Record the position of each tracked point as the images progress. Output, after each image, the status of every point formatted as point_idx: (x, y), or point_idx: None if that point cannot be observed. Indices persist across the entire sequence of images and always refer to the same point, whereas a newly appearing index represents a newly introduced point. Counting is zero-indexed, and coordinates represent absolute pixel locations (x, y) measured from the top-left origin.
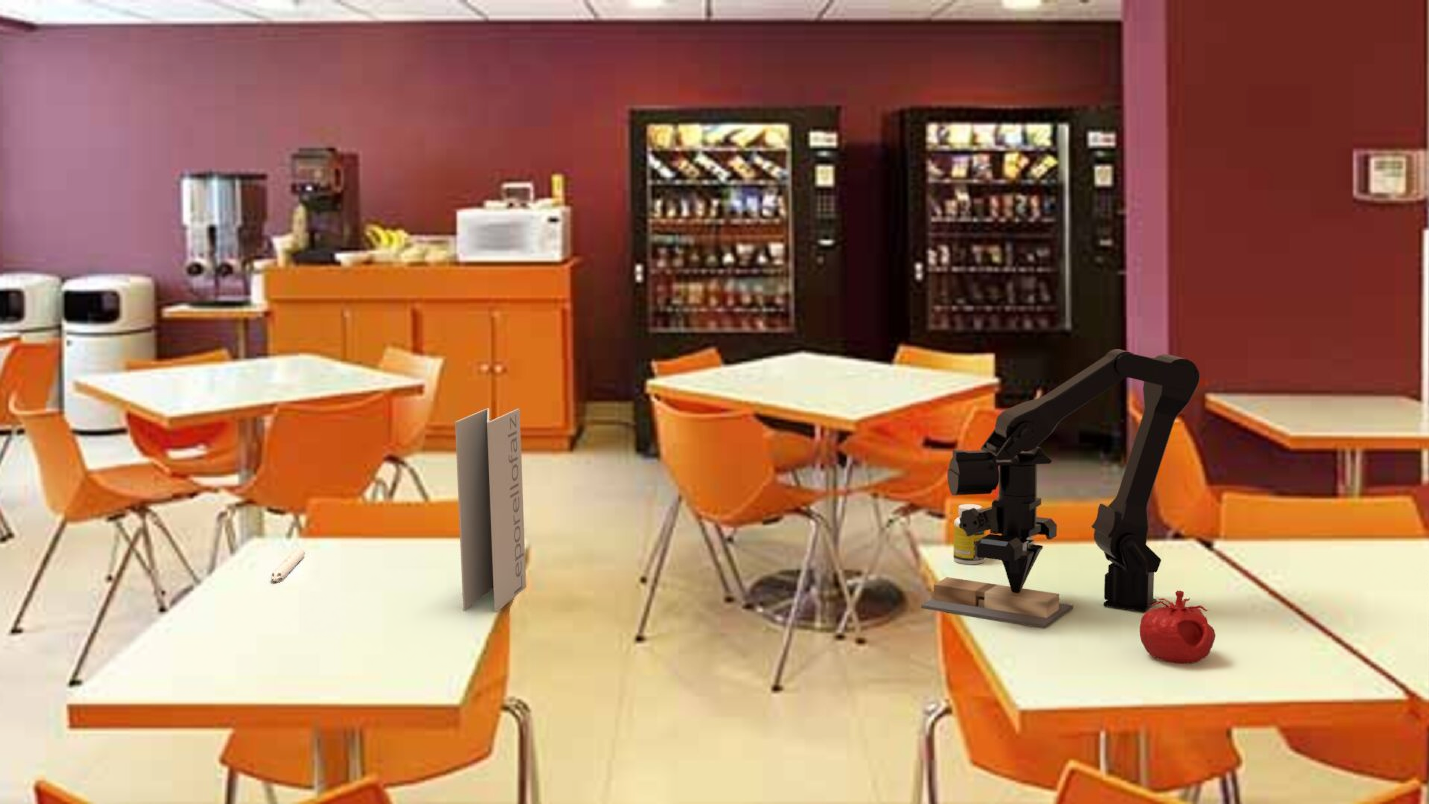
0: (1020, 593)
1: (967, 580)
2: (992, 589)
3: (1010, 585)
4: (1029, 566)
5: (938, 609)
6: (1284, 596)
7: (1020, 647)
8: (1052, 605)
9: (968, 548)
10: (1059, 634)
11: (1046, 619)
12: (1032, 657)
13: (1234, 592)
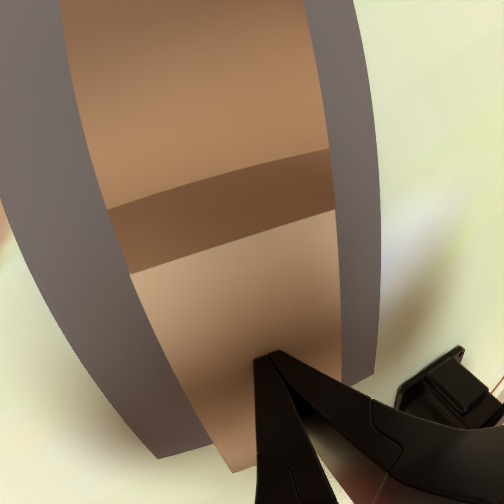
0: None
1: (297, 6)
2: (222, 263)
3: (254, 388)
4: (350, 496)
5: None
6: None
7: (15, 474)
8: None
9: None
10: (150, 477)
11: (203, 437)
12: (12, 495)
13: (490, 382)
